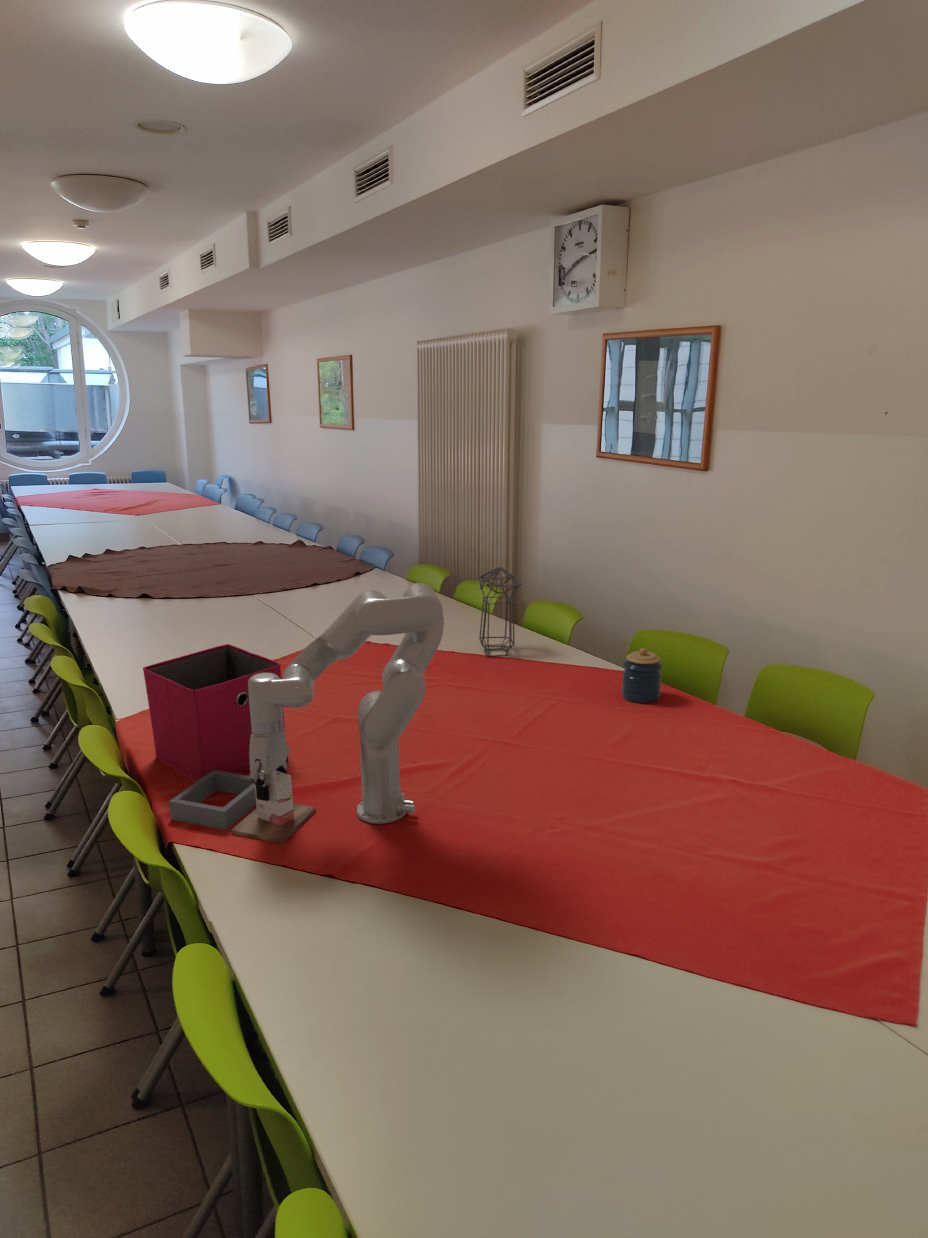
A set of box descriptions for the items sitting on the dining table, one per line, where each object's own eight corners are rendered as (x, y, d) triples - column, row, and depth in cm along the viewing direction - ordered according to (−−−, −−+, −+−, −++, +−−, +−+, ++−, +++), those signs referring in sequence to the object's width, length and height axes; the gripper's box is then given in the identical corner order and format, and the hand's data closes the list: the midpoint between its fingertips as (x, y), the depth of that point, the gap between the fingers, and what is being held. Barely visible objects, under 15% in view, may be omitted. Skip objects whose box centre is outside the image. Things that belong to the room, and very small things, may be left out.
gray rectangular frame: (266, 796, 214) (265, 778, 213) (226, 830, 198) (224, 811, 197) (214, 787, 219) (212, 770, 218) (171, 819, 203) (169, 801, 202)
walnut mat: (315, 811, 207) (315, 807, 207) (282, 843, 192) (282, 840, 192) (267, 802, 211) (267, 799, 211) (231, 833, 197) (230, 830, 196)
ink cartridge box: (295, 819, 201) (291, 764, 197) (280, 827, 197) (276, 772, 193) (271, 809, 206) (267, 755, 202) (256, 817, 202) (251, 762, 198)
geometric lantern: (474, 647, 334) (476, 563, 325) (512, 647, 336) (516, 563, 327) (479, 659, 319) (482, 571, 310) (519, 659, 321) (523, 571, 312)
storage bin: (203, 790, 218) (193, 690, 210) (151, 759, 236) (139, 665, 228) (290, 756, 237) (284, 663, 230) (235, 729, 256) (228, 642, 248)
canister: (657, 690, 287) (660, 642, 282) (662, 704, 274) (666, 654, 270) (619, 689, 288) (622, 641, 283) (623, 703, 276) (625, 653, 271)
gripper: (273, 709, 204) (277, 774, 208) (232, 737, 188) (238, 806, 193) (299, 713, 201) (303, 778, 206) (261, 741, 185) (266, 811, 190)
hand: (272, 791), depth 199 cm, fingers open, 7 cm apart
